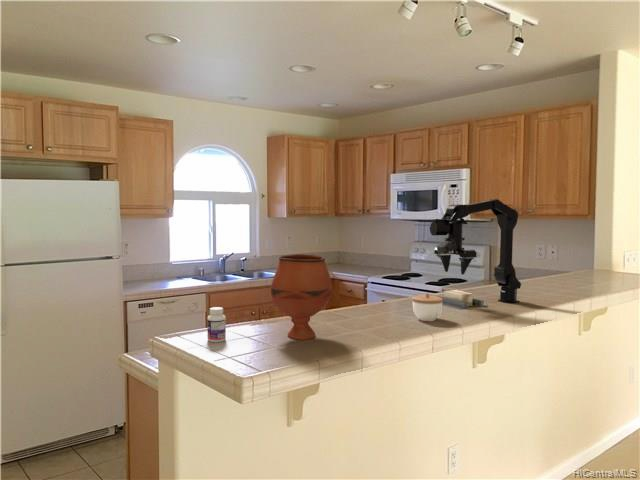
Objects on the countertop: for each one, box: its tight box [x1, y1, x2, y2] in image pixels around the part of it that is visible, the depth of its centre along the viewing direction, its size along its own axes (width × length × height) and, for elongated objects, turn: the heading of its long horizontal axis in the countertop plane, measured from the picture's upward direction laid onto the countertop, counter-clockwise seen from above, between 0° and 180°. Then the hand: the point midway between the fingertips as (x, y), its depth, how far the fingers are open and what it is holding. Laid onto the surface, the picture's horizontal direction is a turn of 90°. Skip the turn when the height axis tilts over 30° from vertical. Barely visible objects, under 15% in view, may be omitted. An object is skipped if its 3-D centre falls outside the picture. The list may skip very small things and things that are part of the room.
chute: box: [436, 295, 489, 310], centre depth 214 cm, size 15×16×2 cm
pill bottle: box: [206, 306, 227, 343], centre depth 154 cm, size 5×5×10 cm
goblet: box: [270, 253, 333, 340], centre depth 159 cm, size 19×19×25 cm
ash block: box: [444, 289, 474, 307], centre depth 214 cm, size 6×10×5 cm, turn 27°
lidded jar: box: [411, 292, 443, 322], centre depth 185 cm, size 11×11×9 cm
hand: (454, 273), depth 211 cm, fingers open, 9 cm apart
